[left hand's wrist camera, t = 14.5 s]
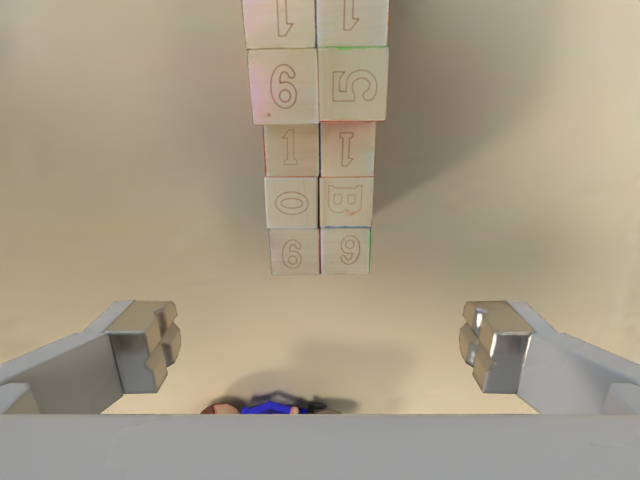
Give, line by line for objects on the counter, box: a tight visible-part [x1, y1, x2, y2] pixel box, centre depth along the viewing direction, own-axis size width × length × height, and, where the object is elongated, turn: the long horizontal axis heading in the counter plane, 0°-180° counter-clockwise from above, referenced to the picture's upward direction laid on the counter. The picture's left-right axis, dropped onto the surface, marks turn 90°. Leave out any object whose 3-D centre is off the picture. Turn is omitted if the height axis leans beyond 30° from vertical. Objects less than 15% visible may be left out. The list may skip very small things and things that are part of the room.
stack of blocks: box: [241, 0, 390, 275], centre depth 21 cm, size 21×6×12 cm, turn 0°
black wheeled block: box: [200, 401, 342, 414], centre depth 35 cm, size 7×8×15 cm
